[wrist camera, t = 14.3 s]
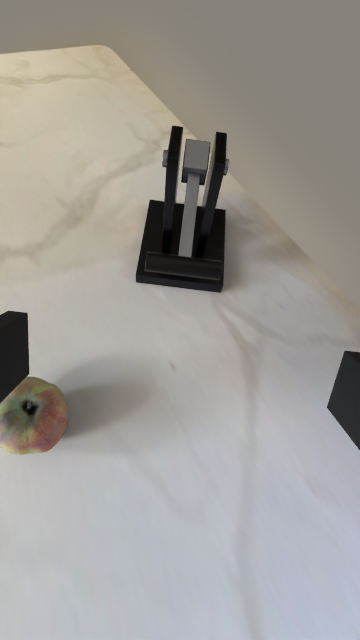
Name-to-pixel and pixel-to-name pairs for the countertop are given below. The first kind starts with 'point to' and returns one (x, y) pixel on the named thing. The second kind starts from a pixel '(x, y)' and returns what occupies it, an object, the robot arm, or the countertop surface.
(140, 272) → the black lever stand
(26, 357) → the robot arm
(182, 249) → the lever
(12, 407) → the apple
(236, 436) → the countertop surface
